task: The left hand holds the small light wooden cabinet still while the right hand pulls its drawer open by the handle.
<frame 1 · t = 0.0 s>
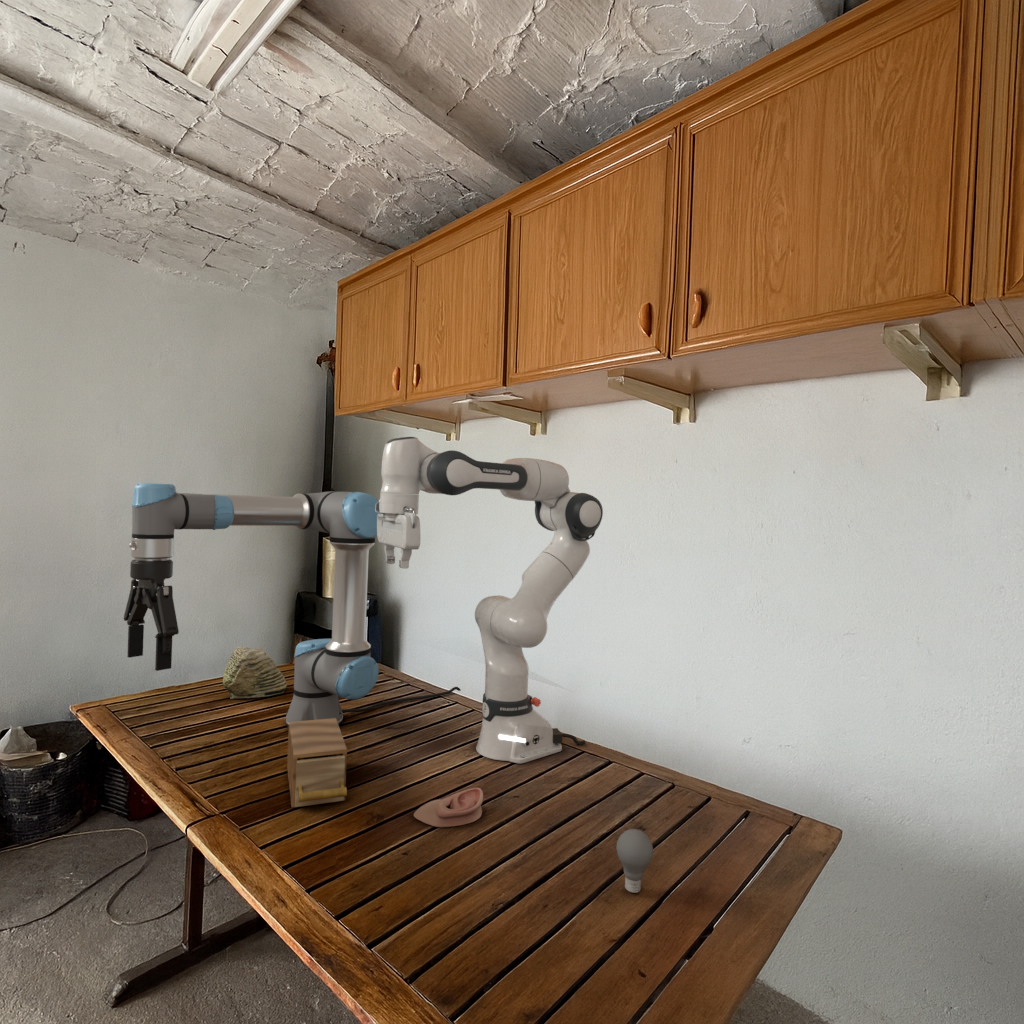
left hand: (148, 662, 129), 28 cm above the table, tool pointing down, fingers open, 13 cm apart
right hand: (396, 565, 147), 48 cm above the table, tool pointing down, fingers open, 8 cm apart
fossil: (254, 694, 198), on the table
drawer: (317, 768, 135), point 5 cm above the table, slide at 0.7 cm
anatomical model: (448, 814, 129), on the table
cabinet: (314, 783, 140), on the table
light bulb: (632, 891, 106), on the table
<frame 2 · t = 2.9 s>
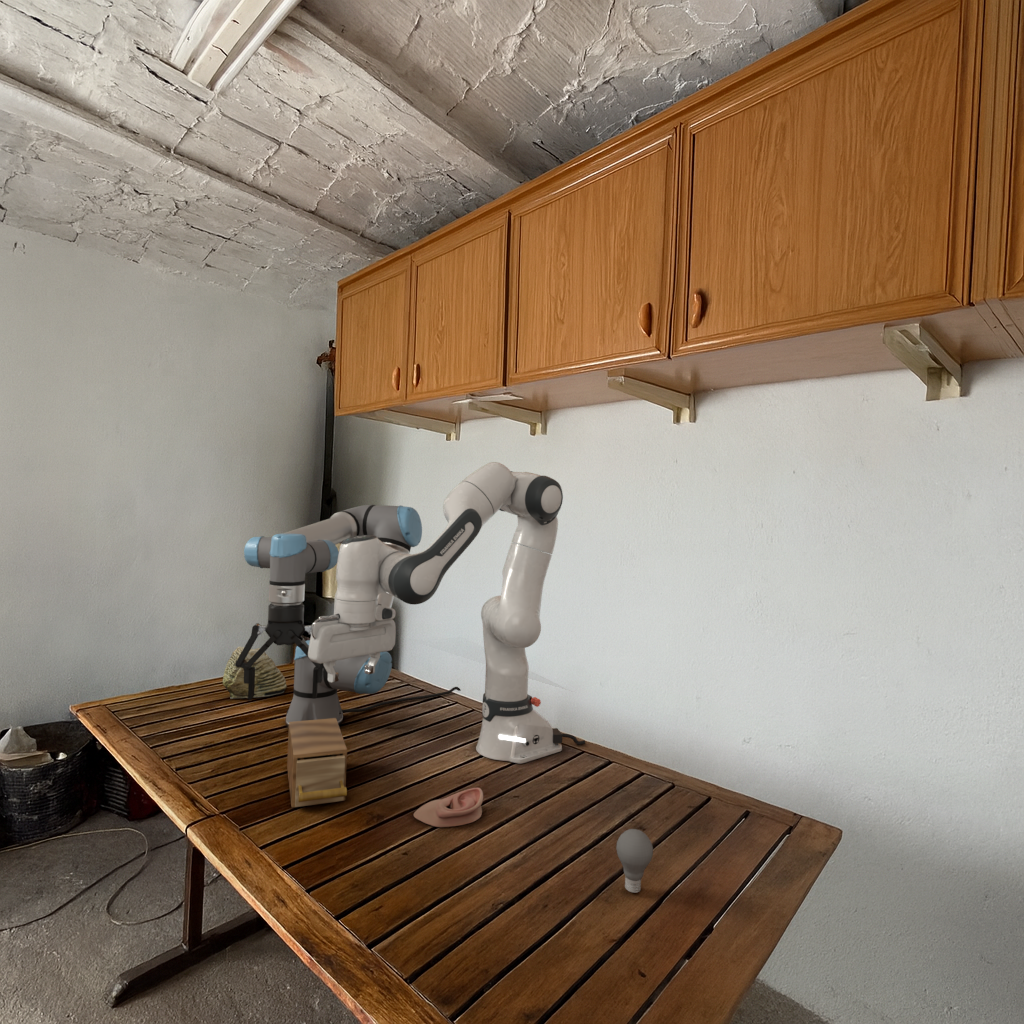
left hand: (283, 697, 142), 18 cm above the table, tool pointing down, fingers open, 13 cm apart
right hand: (351, 677, 133), 26 cm above the table, tool pointing down, fingers open, 8 cm apart
nothing on the table moved.
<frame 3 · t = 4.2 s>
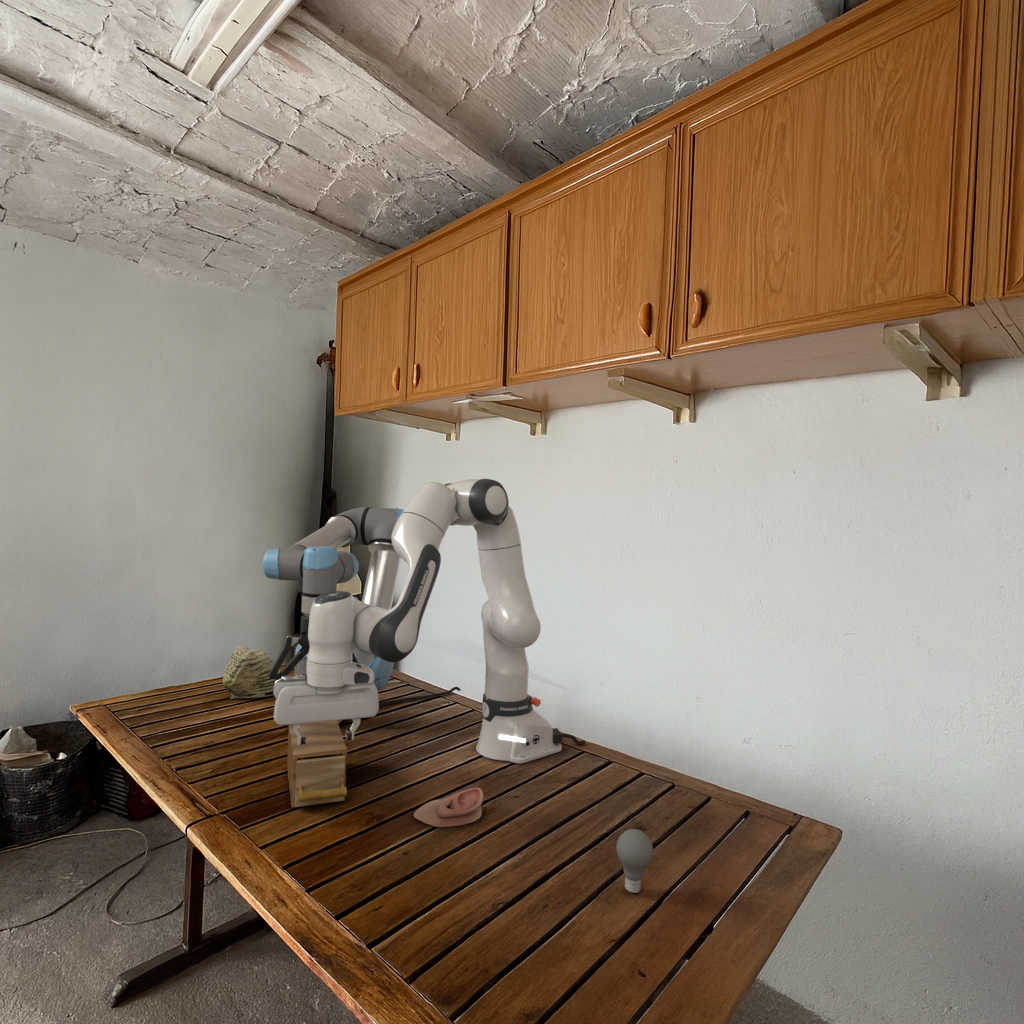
left hand: (314, 706, 145), 15 cm above the table, tool pointing down, fingers open, 13 cm apart
right hand: (325, 741, 127), 14 cm above the table, tool pointing down, fingers open, 8 cm apart
nothing on the table moved.
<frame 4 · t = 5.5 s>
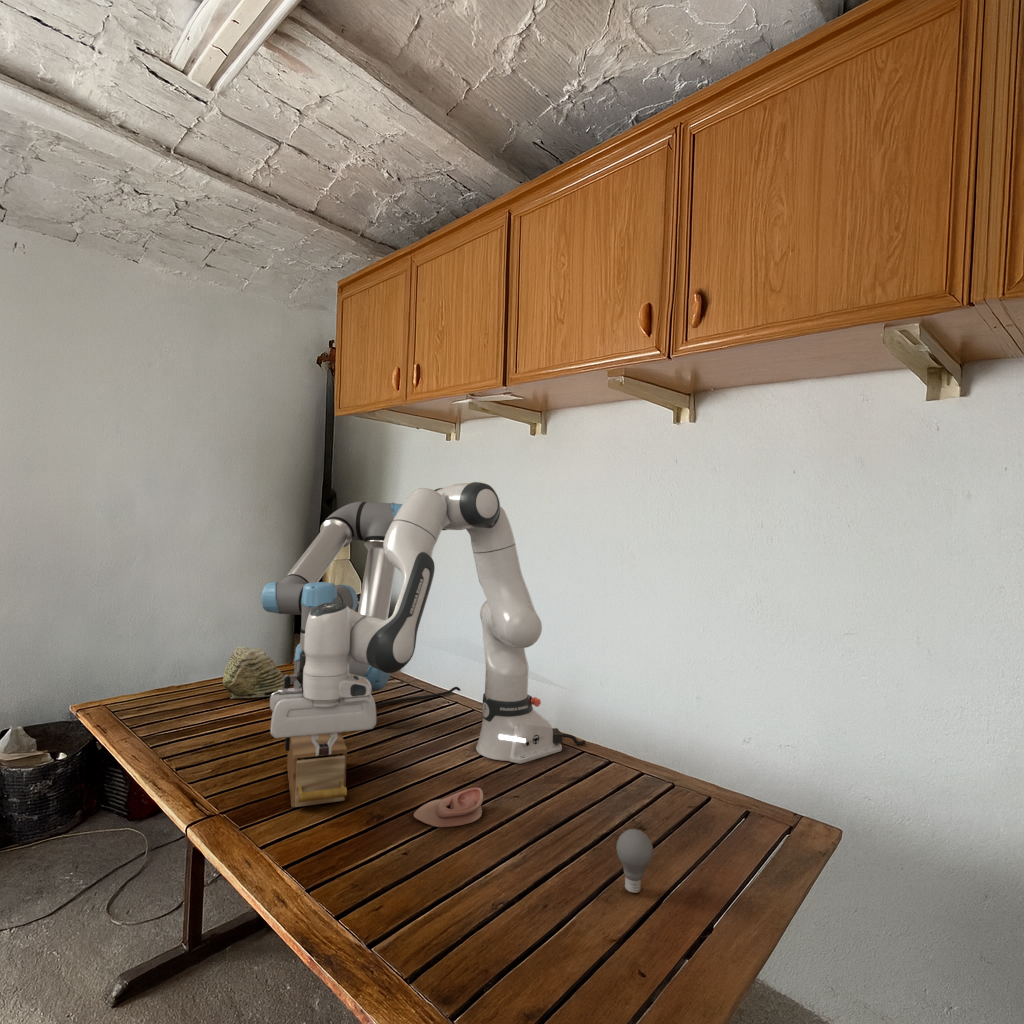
left hand: (313, 746, 145), 6 cm above the table, tool pointing down, fingers closed on cabinet, 11 cm apart
right hand: (323, 754, 126), 12 cm above the table, tool pointing down, fingers closed
cabinet: (314, 783, 140), on the table, touching left hand
everything else where it was.
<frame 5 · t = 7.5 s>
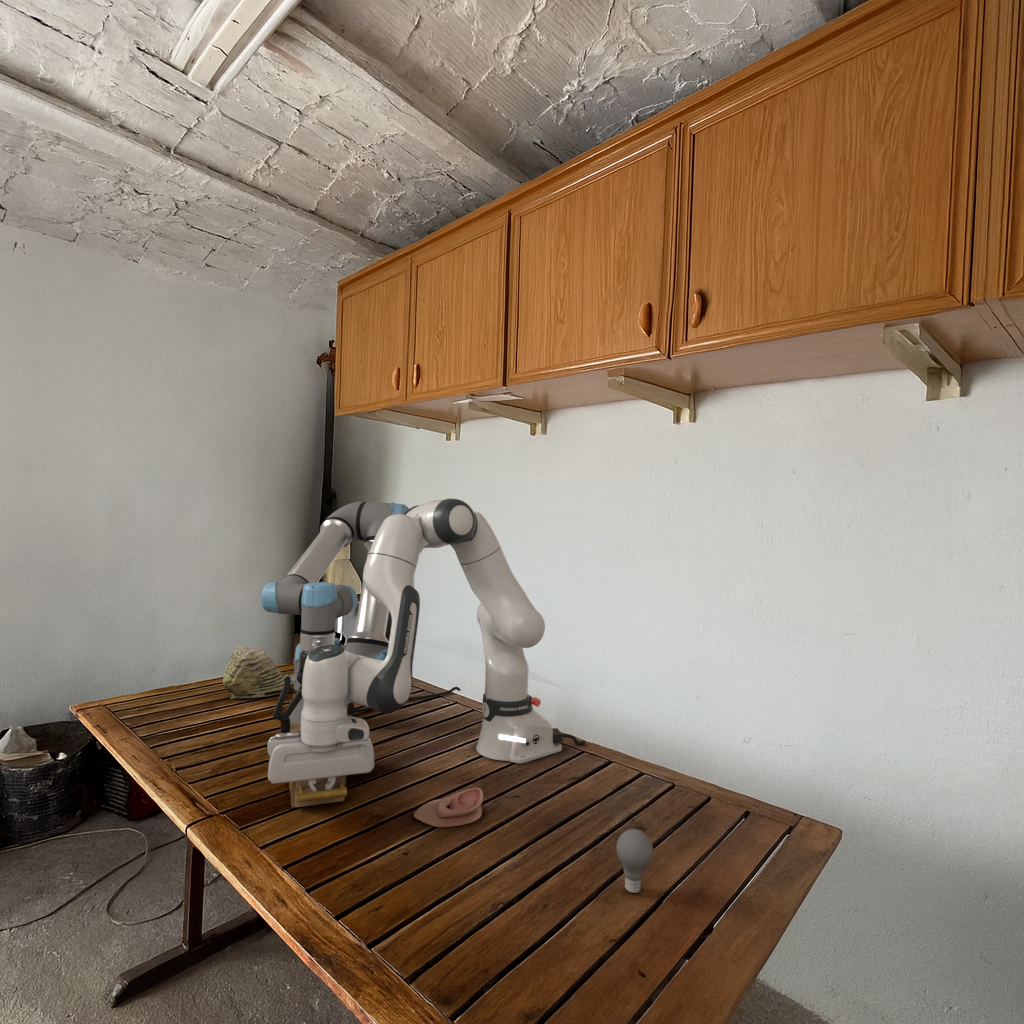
left hand: (313, 746, 145), 6 cm above the table, tool pointing down, fingers closed on cabinet, 11 cm apart
right hand: (321, 798, 126), 4 cm above the table, tool pointing down, fingers closed, pressing on drawer
drawer: (317, 769, 135), point 5 cm above the table, slide at 0.8 cm, touching right hand
cabinet: (314, 783, 140), on the table, touching left hand
everything else where it was.
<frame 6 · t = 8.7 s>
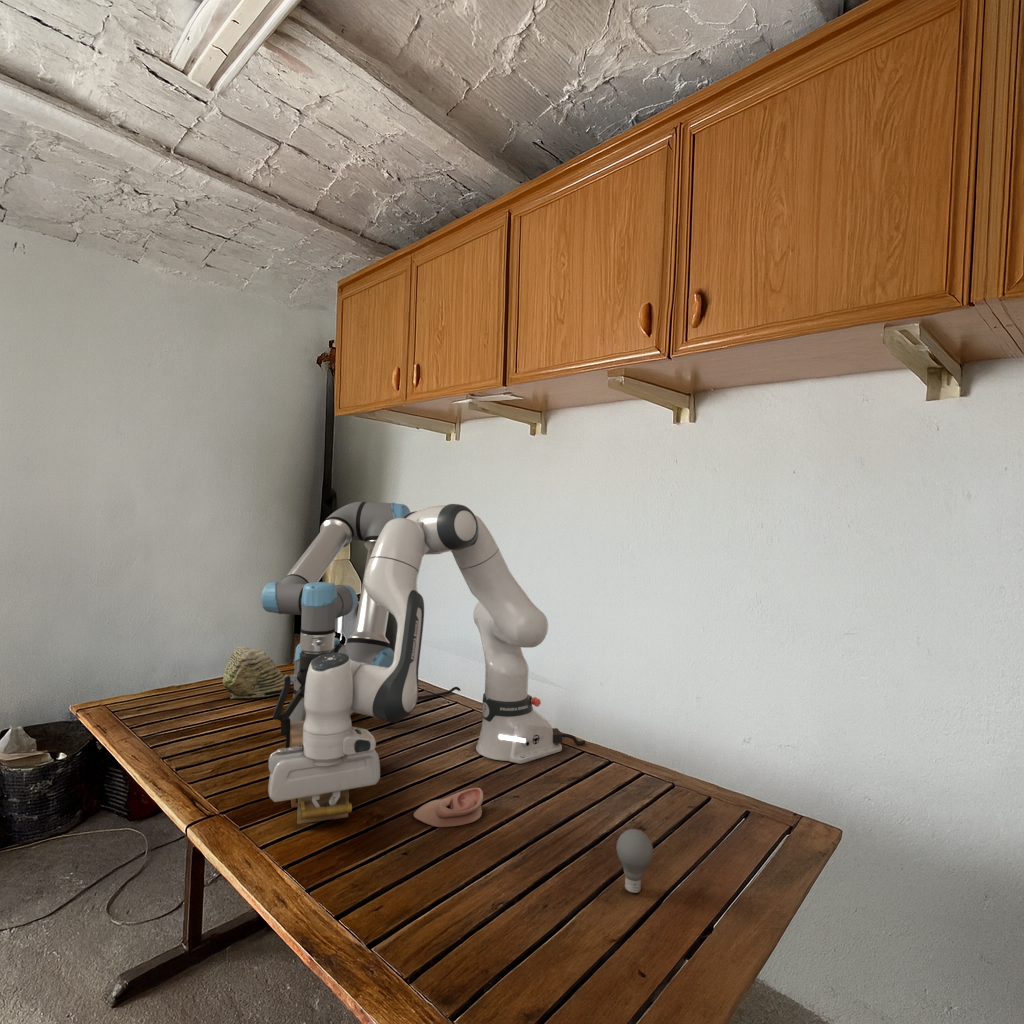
left hand: (313, 746, 145), 6 cm above the table, tool pointing down, fingers closed on cabinet, 11 cm apart
right hand: (324, 814, 120), 4 cm above the table, tool pointing down, fingers closed
drawer: (320, 782, 128), point 5 cm above the table, slide at 7.5 cm, touching right hand
cabinet: (314, 783, 140), on the table, touching left hand
everything else where it was.
when the left hand's fingers open (6 cm above the table, at t = 10.5 s): cabinet stays where it is, on the table.
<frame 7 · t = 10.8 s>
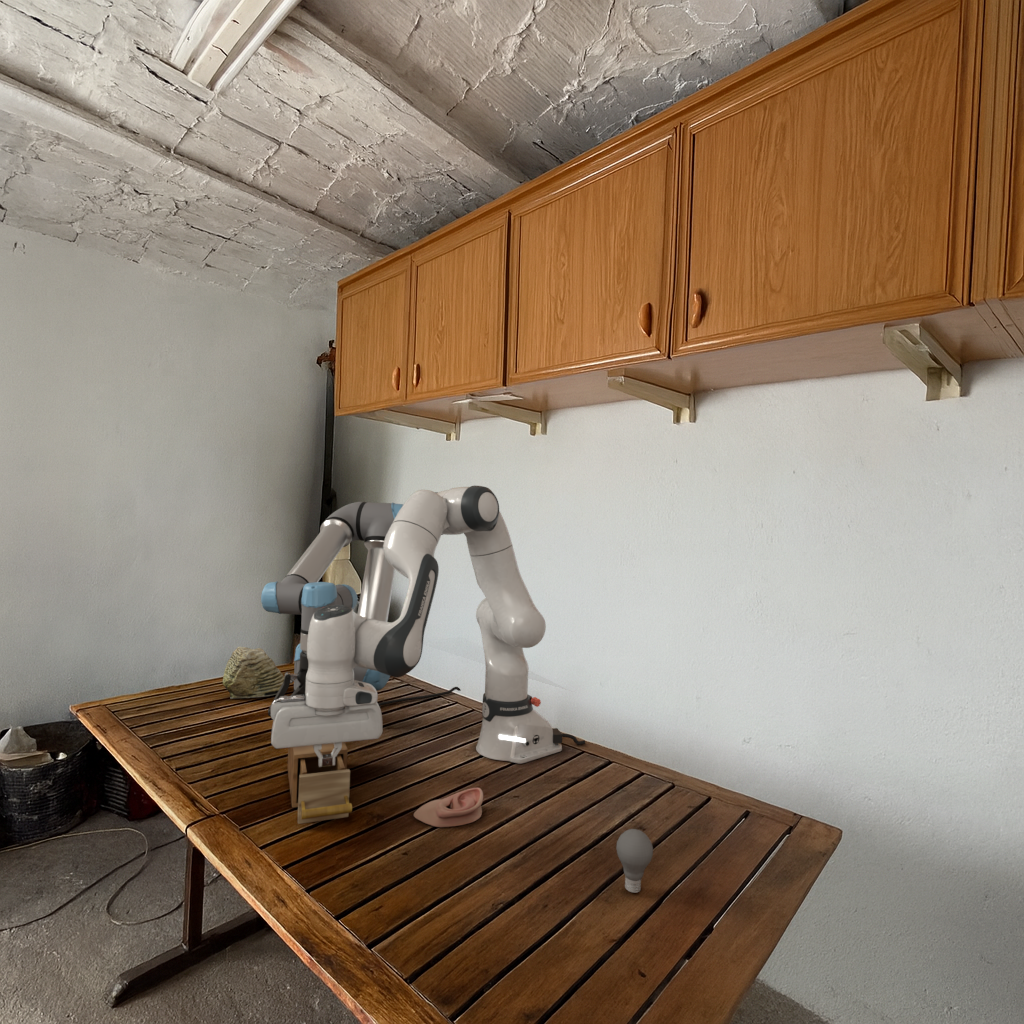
left hand: (313, 742, 145), 7 cm above the table, tool pointing down, fingers open, 13 cm apart
right hand: (326, 765, 120), 13 cm above the table, tool pointing down, fingers closed
drawer: (321, 782, 128), point 5 cm above the table, slide at 7.5 cm
cabinet: (315, 783, 140), on the table
everything else where it was.
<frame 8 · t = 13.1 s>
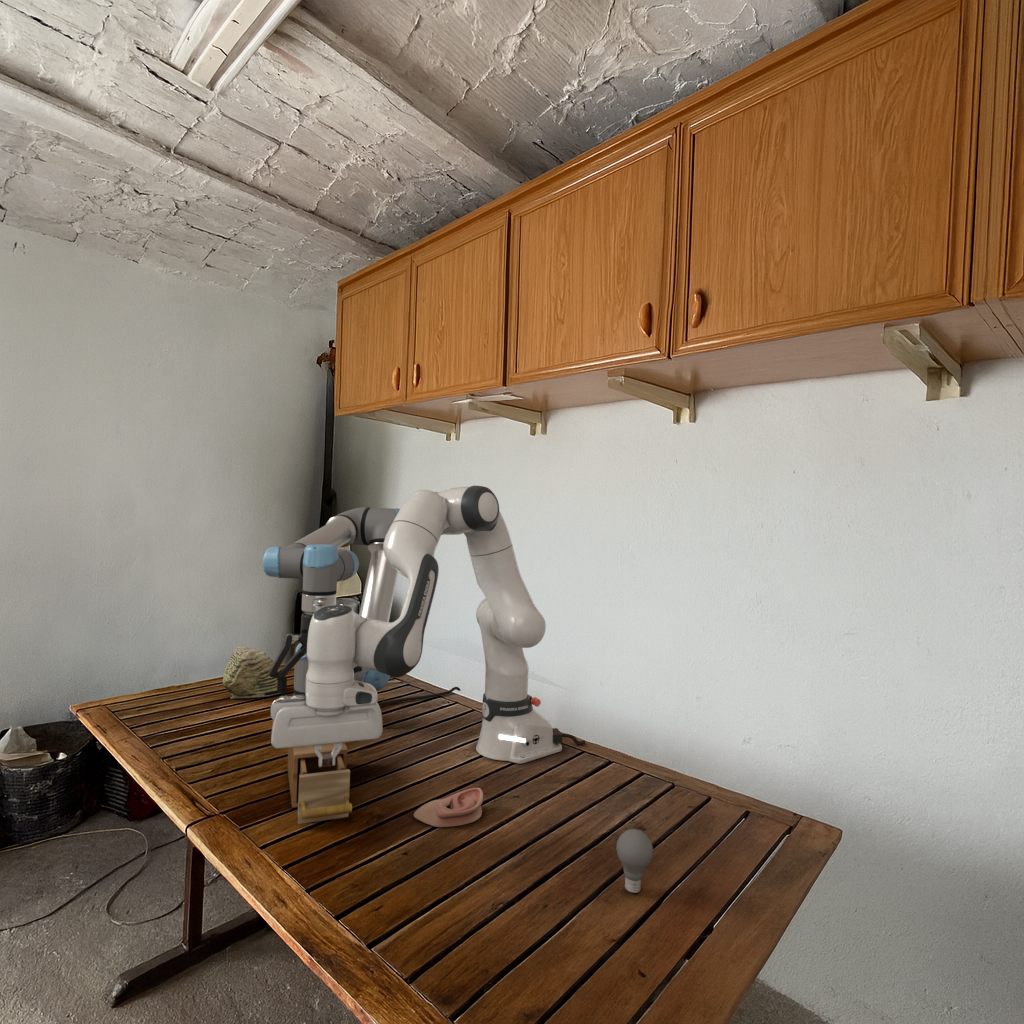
left hand: (315, 704, 145), 16 cm above the table, tool pointing down, fingers open, 13 cm apart
right hand: (326, 765, 120), 13 cm above the table, tool pointing down, fingers closed
nothing on the table moved.
at the end: drawer slide at 7.5 cm; cabinet tilted 0°; cabinet never tilted more than 1° during the clip; cabinet moved 0.1 cm from its start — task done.
